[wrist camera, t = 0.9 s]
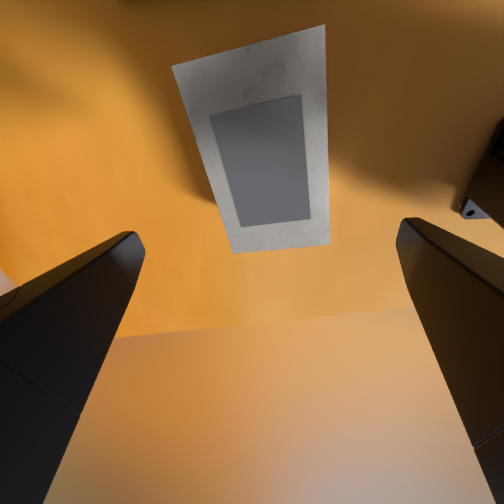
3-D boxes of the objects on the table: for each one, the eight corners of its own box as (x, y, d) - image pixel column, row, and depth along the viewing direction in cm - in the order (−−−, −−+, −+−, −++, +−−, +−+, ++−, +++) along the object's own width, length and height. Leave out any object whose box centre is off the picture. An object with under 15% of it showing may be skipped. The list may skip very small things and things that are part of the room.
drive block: (313, 27, 13) (325, 24, 9) (321, 202, 19) (330, 245, 15) (201, 57, 14) (170, 66, 10) (243, 212, 20) (233, 254, 16)
